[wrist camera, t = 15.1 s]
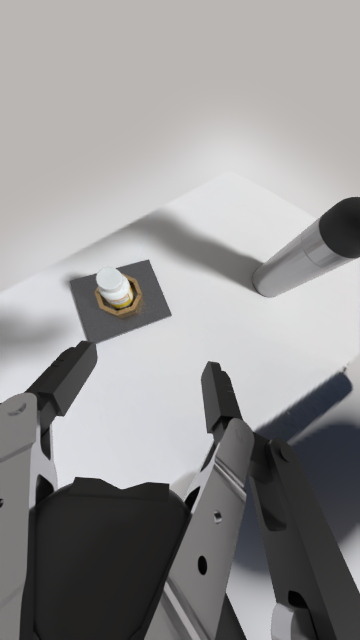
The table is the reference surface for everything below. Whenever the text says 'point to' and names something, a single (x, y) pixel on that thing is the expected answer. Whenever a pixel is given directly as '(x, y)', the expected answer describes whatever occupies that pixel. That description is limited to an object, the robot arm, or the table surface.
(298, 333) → the table surface
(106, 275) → the supplement bottle
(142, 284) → the collar plate
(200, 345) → the table surface
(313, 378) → the table surface
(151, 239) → the table surface
